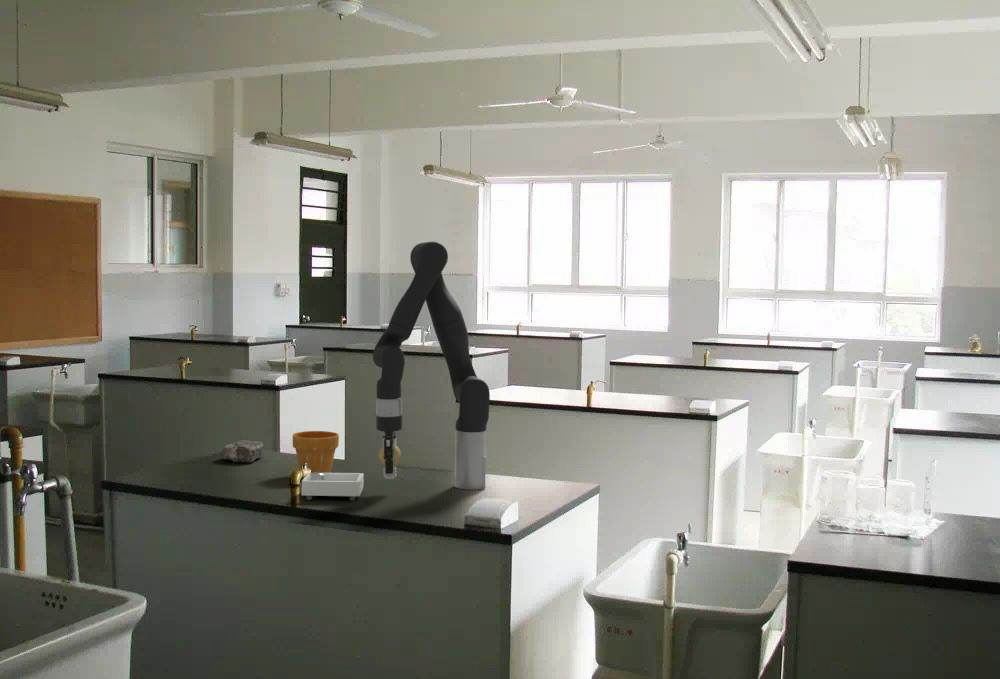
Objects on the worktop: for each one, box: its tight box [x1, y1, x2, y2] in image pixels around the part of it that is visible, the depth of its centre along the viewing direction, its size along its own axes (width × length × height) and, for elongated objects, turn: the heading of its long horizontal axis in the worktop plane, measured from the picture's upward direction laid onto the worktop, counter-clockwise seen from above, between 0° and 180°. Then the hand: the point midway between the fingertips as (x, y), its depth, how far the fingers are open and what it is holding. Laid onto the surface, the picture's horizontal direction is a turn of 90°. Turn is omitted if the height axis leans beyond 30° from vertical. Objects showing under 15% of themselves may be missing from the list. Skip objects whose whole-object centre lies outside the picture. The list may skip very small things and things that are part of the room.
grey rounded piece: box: [310, 472, 325, 481], centre depth 284 cm, size 4×4×4 cm
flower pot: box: [292, 430, 340, 473], centre depth 312 cm, size 14×14×13 cm
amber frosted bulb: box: [378, 444, 402, 480], centre depth 290 cm, size 6×6×10 cm
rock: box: [220, 439, 265, 463], centre depth 335 cm, size 13×6×15 cm
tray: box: [301, 472, 365, 502], centre depth 284 cm, size 16×12×6 cm
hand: (389, 470), depth 290 cm, fingers closed on amber frosted bulb, 6 cm apart
